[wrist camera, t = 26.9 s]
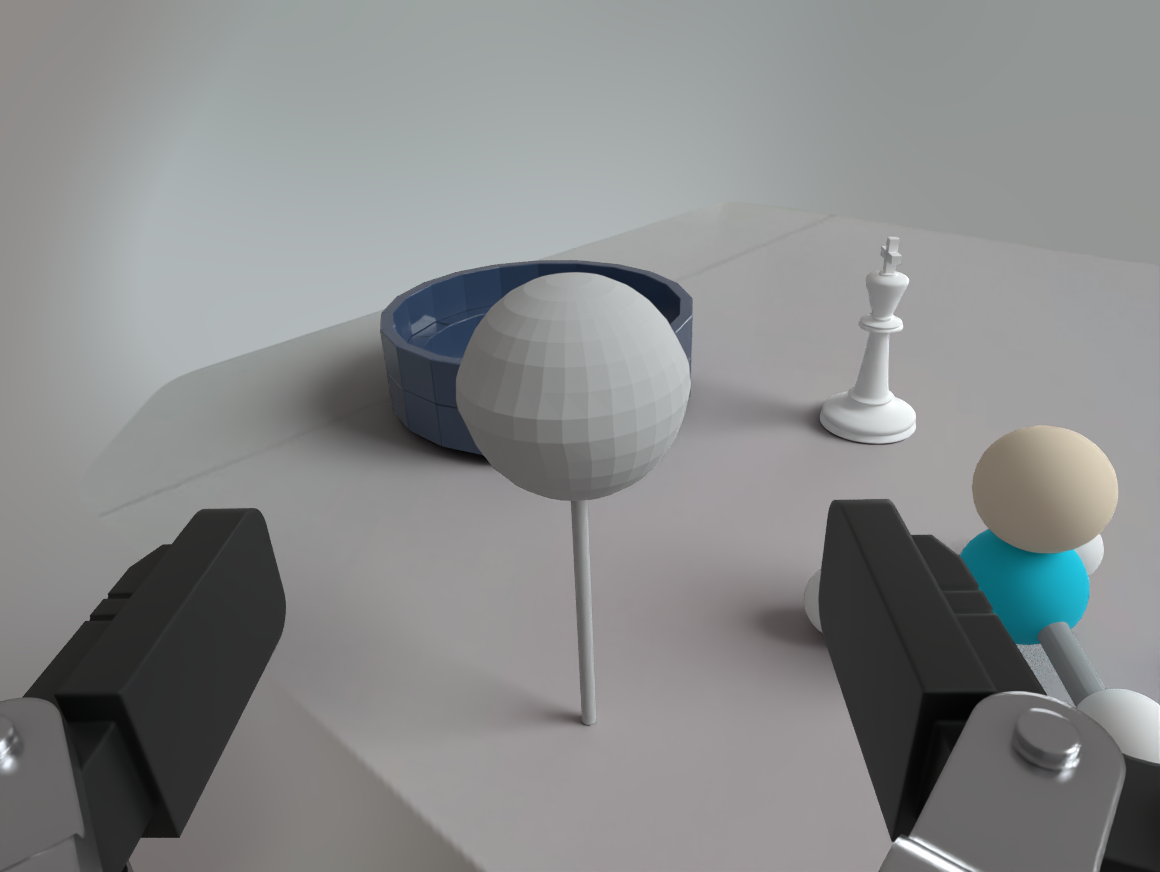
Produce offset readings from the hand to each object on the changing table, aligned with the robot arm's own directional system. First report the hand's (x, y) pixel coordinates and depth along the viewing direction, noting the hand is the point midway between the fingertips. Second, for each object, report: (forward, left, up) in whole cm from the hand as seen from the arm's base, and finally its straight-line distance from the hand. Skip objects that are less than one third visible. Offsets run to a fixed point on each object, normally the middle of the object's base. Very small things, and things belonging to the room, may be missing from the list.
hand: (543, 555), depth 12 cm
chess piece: (+28, +19, -14) cm, 37 cm away
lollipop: (+5, +8, -14) cm, 17 cm away
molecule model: (+18, +4, -14) cm, 23 cm away
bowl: (+15, +32, -14) cm, 38 cm away
